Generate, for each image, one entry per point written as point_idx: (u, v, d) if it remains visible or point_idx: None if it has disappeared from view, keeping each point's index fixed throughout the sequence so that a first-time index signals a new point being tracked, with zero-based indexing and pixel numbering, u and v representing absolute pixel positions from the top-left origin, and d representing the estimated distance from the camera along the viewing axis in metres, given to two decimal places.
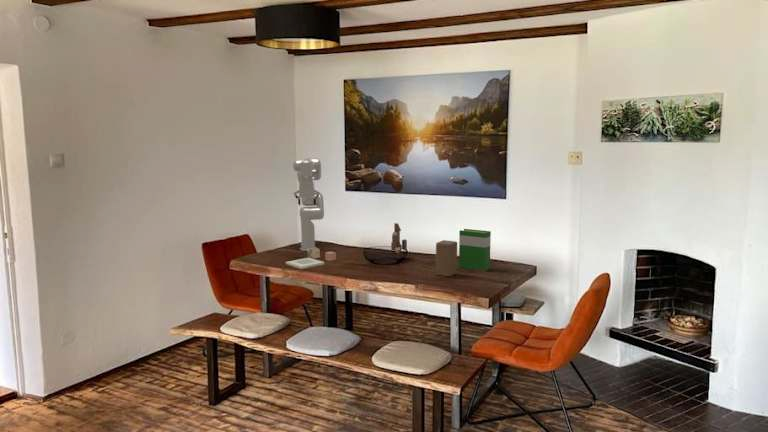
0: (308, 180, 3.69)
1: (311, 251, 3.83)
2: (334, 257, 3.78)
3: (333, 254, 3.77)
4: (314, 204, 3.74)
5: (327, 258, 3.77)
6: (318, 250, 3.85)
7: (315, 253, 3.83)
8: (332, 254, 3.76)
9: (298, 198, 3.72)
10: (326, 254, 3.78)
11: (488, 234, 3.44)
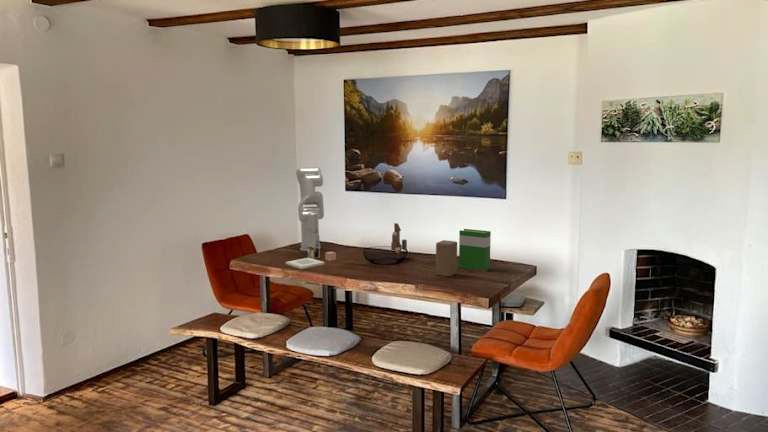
0: None
1: (311, 251, 3.83)
2: (334, 257, 3.78)
3: (333, 254, 3.77)
4: None
5: (327, 258, 3.77)
6: None
7: None
8: (332, 254, 3.76)
9: (318, 250, 3.84)
10: (326, 254, 3.78)
11: (488, 234, 3.44)
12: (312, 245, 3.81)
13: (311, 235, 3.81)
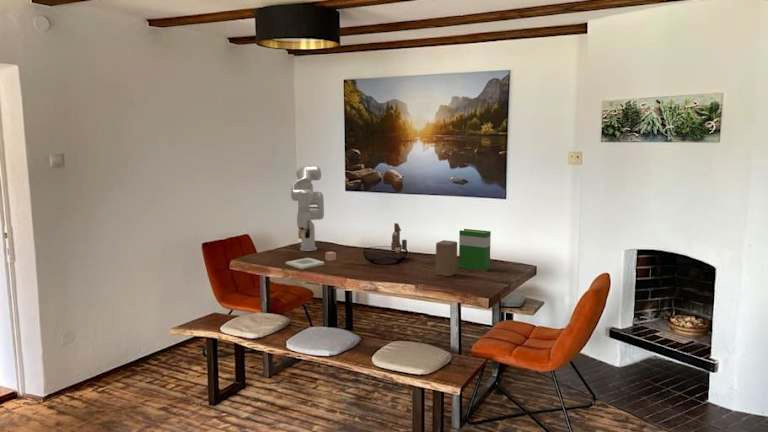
0: None
1: (302, 231, 3.61)
2: (334, 257, 3.78)
3: (333, 254, 3.77)
4: None
5: (327, 258, 3.77)
6: None
7: None
8: (332, 254, 3.76)
9: (309, 230, 3.62)
10: (326, 254, 3.78)
11: (488, 234, 3.44)
12: (303, 225, 3.59)
13: (302, 214, 3.59)
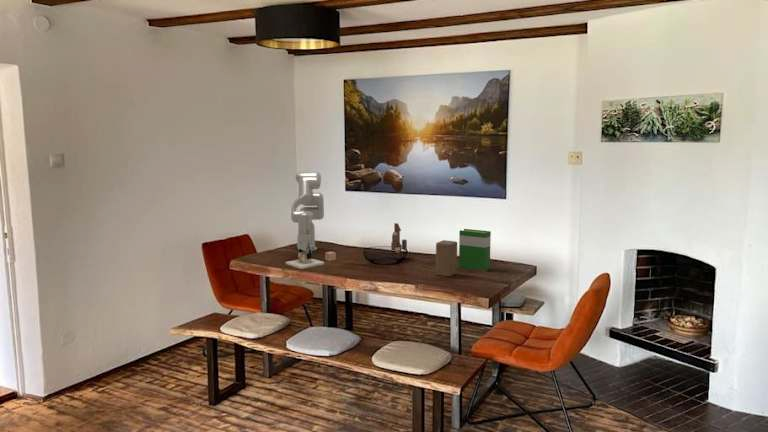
0: None
1: (302, 255, 3.62)
2: (334, 257, 3.78)
3: (333, 254, 3.77)
4: None
5: (327, 258, 3.77)
6: None
7: (306, 257, 3.63)
8: (332, 254, 3.76)
9: None
10: (326, 254, 3.78)
11: (488, 234, 3.44)
12: (303, 247, 3.61)
13: (302, 237, 3.61)
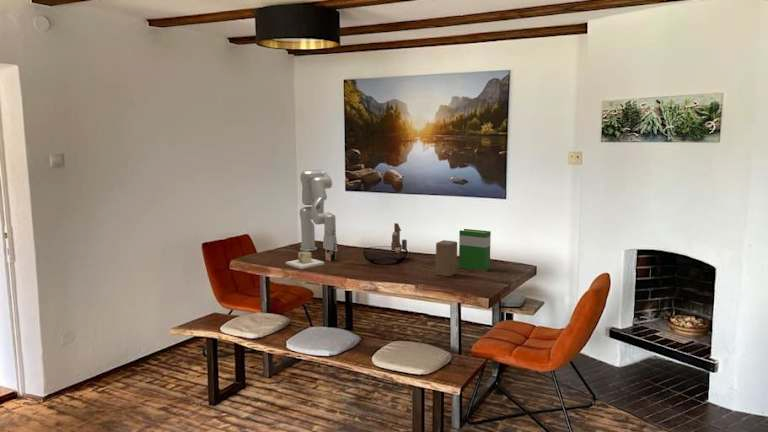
0: None
1: (302, 255, 3.62)
2: None
3: None
4: None
5: (327, 258, 3.77)
6: (309, 254, 3.65)
7: (306, 257, 3.63)
8: None
9: None
10: (326, 254, 3.78)
11: (488, 234, 3.44)
12: (329, 247, 3.74)
13: (328, 237, 3.74)
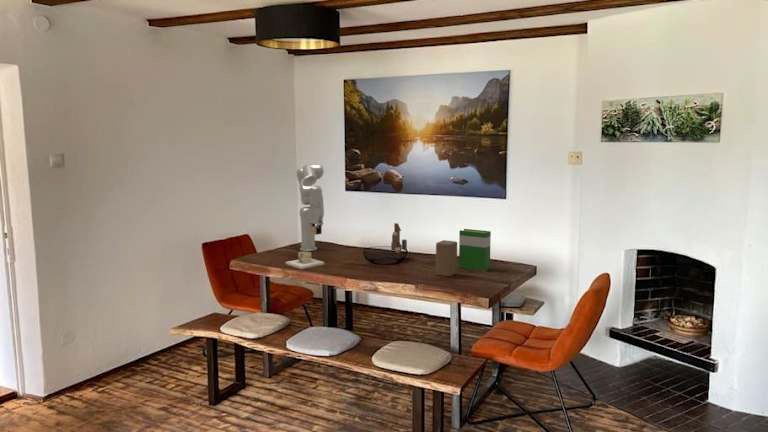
0: None
1: (302, 255, 3.62)
2: None
3: None
4: None
5: (313, 232, 3.67)
6: (309, 254, 3.65)
7: (306, 257, 3.63)
8: None
9: None
10: (311, 228, 3.68)
11: (488, 234, 3.44)
12: (315, 221, 3.64)
13: (313, 210, 3.64)
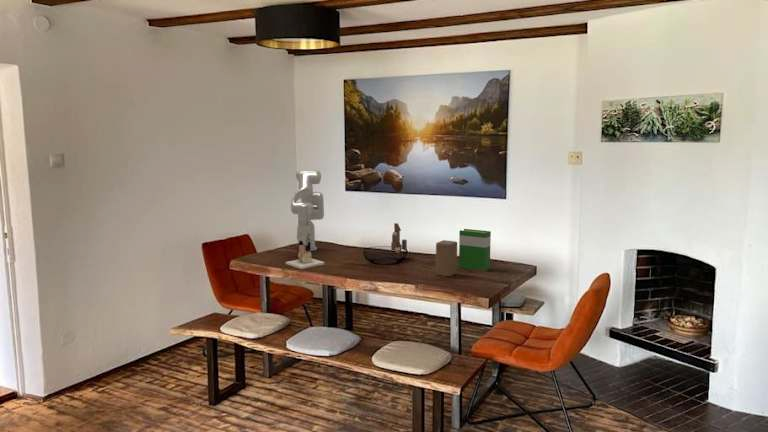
0: None
1: (302, 255, 3.62)
2: None
3: None
4: None
5: (301, 251, 3.64)
6: (309, 254, 3.65)
7: (306, 257, 3.63)
8: None
9: None
10: (300, 247, 3.64)
11: (488, 234, 3.44)
12: (303, 239, 3.60)
13: (302, 228, 3.60)
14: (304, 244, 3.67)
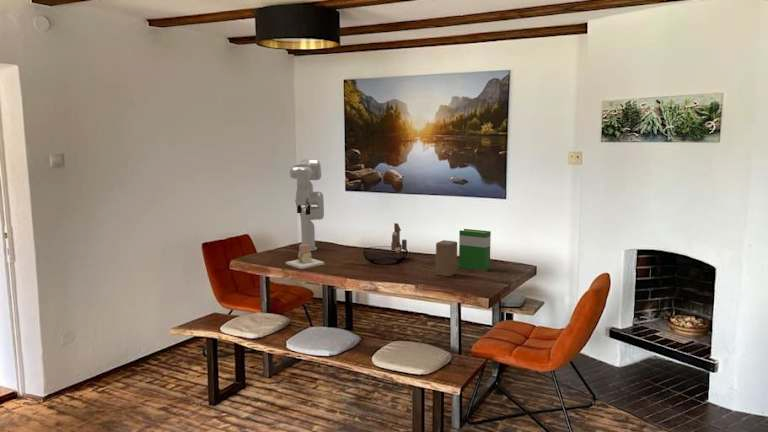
0: None
1: (302, 255, 3.62)
2: (308, 250, 3.64)
3: (307, 247, 3.63)
4: (301, 212, 3.66)
5: (301, 251, 3.64)
6: (309, 254, 3.65)
7: (306, 257, 3.63)
8: (306, 247, 3.63)
9: None
10: (300, 247, 3.64)
11: (488, 234, 3.44)
12: (302, 202, 3.56)
13: (301, 192, 3.56)
14: (304, 244, 3.67)
